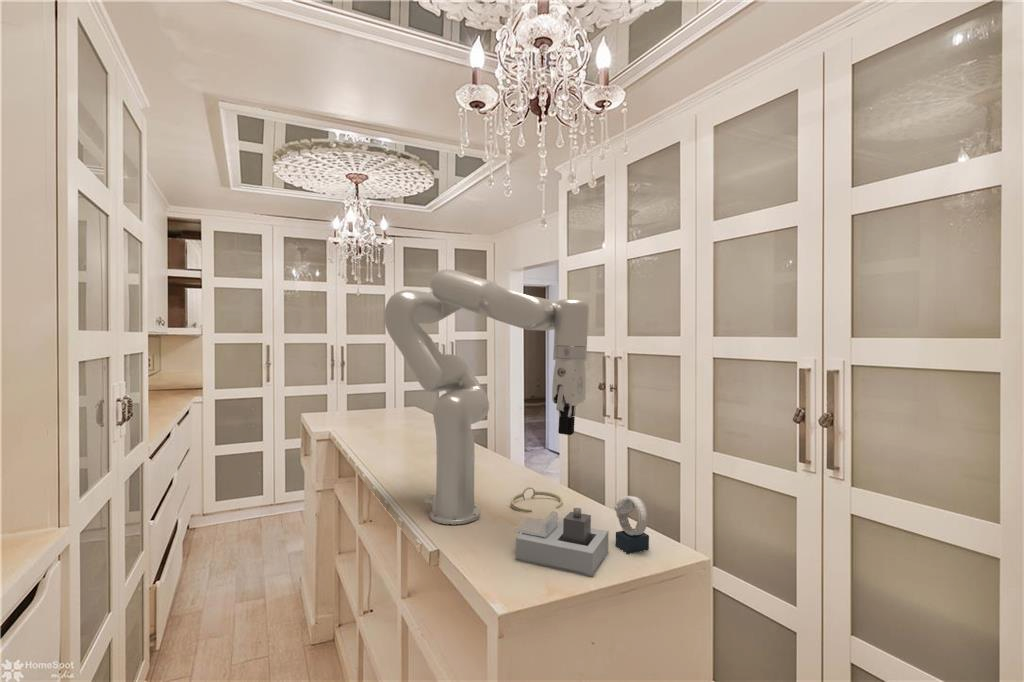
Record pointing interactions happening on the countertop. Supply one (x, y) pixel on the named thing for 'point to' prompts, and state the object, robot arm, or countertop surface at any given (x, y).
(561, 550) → the socket box
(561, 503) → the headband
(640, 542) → the watch
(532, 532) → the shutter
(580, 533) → the plug
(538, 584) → the countertop surface
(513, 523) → the countertop surface
